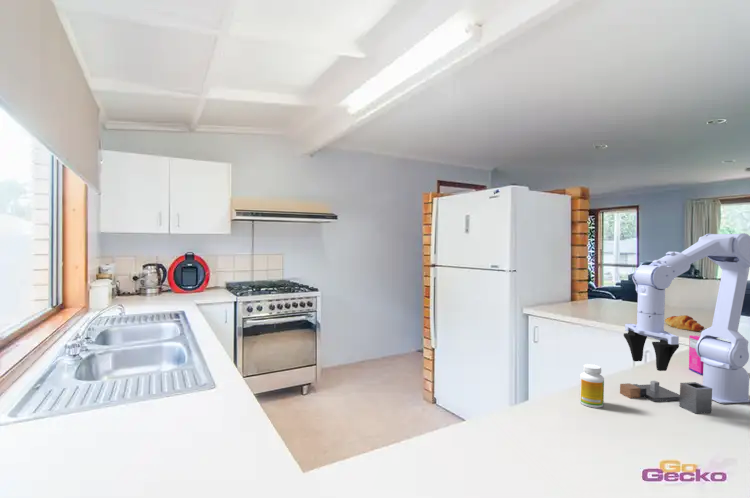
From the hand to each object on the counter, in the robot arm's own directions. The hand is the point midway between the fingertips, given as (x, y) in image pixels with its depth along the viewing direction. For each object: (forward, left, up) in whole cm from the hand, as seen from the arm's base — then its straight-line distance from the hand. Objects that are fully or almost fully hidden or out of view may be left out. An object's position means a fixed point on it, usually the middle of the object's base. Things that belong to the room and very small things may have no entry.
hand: (649, 365), depth 103 cm
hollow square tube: (-9, +4, -10) cm, 14 cm away
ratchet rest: (-5, -6, -10) cm, 13 cm away
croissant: (-95, -82, -10) cm, 126 cm away
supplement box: (-39, -21, -10) cm, 46 cm away
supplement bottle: (+15, -2, -10) cm, 18 cm away
